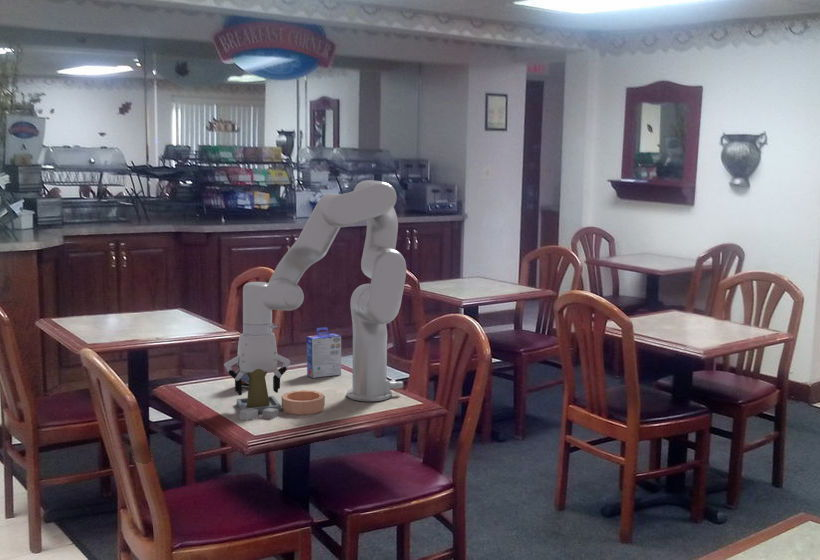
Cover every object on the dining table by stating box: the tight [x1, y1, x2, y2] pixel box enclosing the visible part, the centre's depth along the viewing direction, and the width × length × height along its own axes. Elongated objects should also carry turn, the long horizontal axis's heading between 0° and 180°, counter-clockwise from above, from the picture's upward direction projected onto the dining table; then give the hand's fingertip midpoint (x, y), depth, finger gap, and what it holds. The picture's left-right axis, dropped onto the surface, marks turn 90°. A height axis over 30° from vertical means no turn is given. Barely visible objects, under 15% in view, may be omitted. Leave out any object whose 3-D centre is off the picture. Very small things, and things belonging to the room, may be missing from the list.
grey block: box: [262, 408, 280, 419], centre depth 223 cm, size 3×3×2 cm
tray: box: [236, 395, 282, 414], centre depth 230 cm, size 10×10×2 cm
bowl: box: [280, 389, 326, 416], centre depth 229 cm, size 11×11×4 cm
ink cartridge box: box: [305, 326, 342, 379], centre depth 265 cm, size 10×6×14 cm, turn 119°
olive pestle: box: [246, 369, 270, 408], centre depth 229 cm, size 6×6×11 cm
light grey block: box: [239, 408, 259, 421], centre depth 221 cm, size 4×3×2 cm
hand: (257, 392), depth 229 cm, fingers open, 9 cm apart
